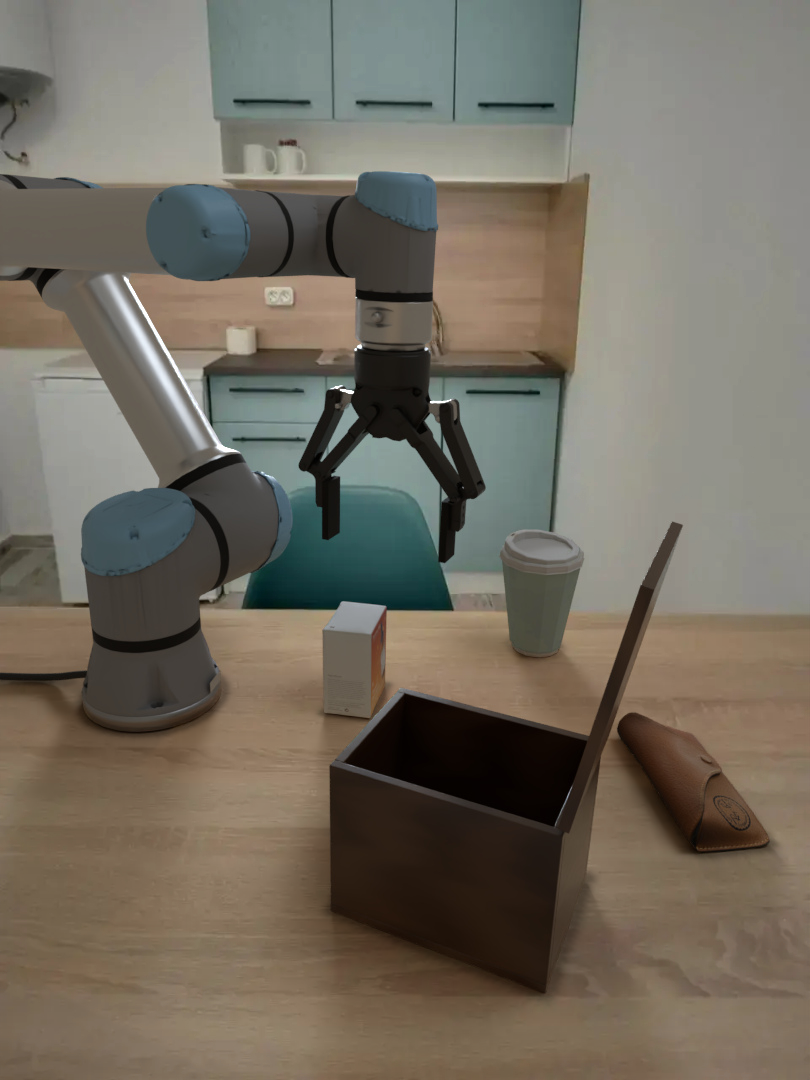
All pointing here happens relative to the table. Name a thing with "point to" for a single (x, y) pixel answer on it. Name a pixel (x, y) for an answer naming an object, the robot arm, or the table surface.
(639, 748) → the sunglasses case
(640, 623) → the lid
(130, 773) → the table surface
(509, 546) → the disposable coffee cup
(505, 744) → the chest
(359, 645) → the small box
